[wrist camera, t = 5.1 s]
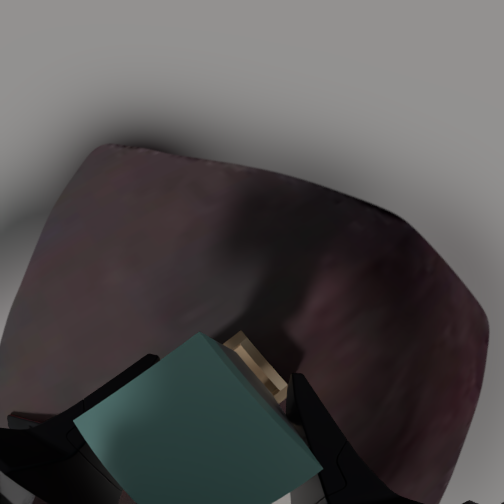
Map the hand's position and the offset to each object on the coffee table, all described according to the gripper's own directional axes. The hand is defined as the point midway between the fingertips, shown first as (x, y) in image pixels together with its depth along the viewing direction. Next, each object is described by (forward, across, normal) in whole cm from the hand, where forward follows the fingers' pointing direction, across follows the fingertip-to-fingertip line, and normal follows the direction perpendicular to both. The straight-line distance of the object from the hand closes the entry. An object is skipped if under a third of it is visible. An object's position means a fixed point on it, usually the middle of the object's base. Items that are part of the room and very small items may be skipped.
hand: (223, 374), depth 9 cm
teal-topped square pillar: (+4, 0, +6) cm, 7 cm away
